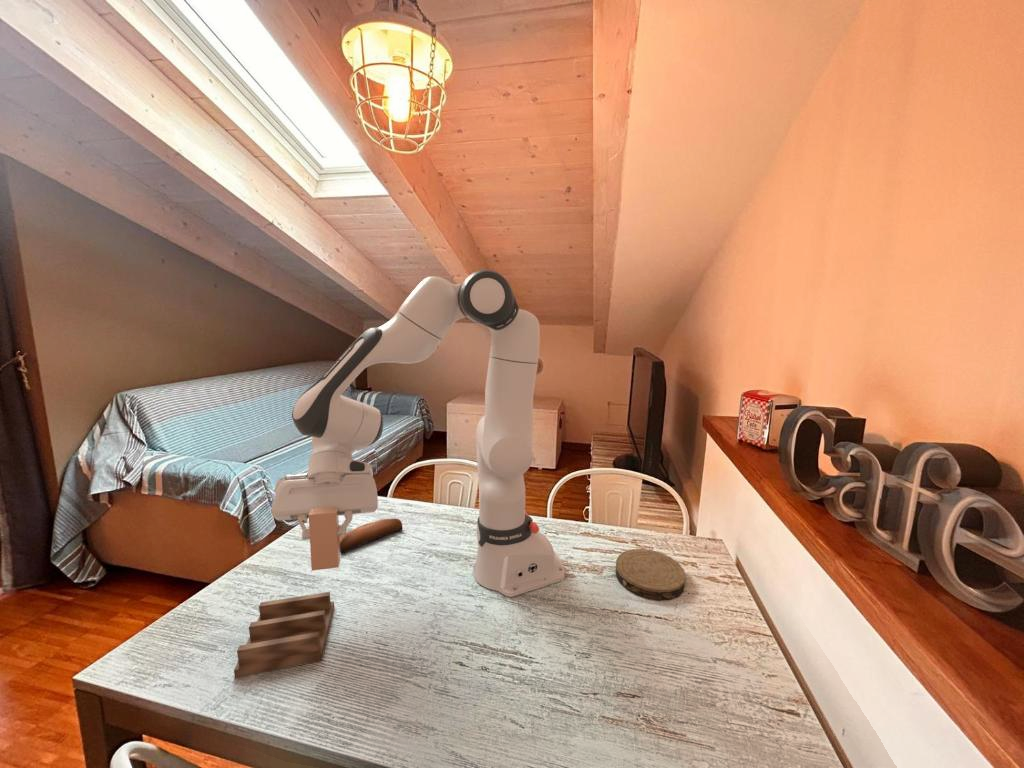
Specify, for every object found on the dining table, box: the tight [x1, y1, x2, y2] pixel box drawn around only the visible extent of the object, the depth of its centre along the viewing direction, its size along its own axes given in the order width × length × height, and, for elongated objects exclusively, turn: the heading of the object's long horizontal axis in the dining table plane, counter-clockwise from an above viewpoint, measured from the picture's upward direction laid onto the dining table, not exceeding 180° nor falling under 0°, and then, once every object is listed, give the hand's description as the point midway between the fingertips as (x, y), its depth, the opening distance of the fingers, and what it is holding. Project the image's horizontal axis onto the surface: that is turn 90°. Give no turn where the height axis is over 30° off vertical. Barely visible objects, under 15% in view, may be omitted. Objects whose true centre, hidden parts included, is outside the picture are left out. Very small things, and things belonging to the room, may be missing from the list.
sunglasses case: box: [339, 518, 403, 554], centre depth 115 cm, size 18×7×7 cm
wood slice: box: [615, 548, 687, 602], centre depth 98 cm, size 16×16×3 cm
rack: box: [233, 591, 335, 678], centre depth 79 cm, size 14×14×4 cm
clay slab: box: [308, 507, 341, 571], centre depth 82 cm, size 5×2×12 cm, turn 105°
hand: (324, 537), depth 81 cm, fingers closed on clay slab, 5 cm apart
